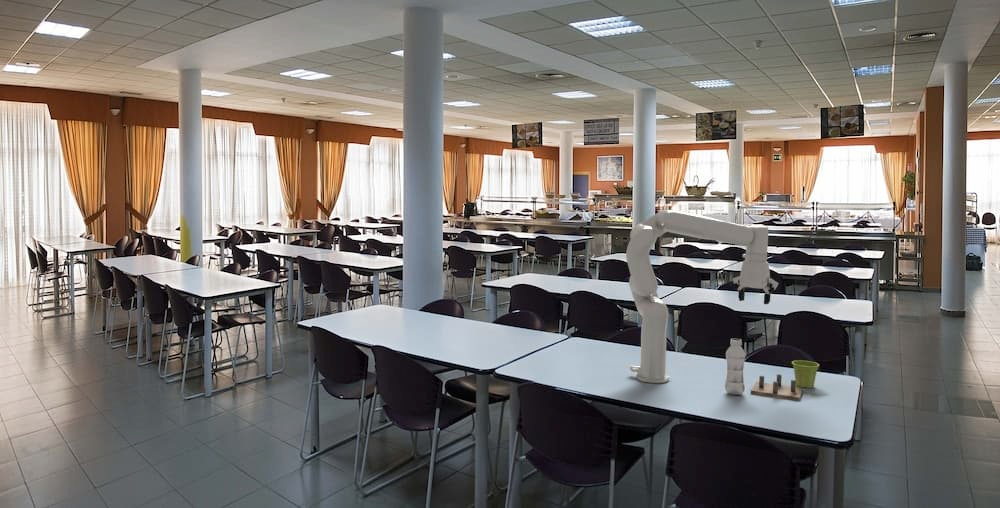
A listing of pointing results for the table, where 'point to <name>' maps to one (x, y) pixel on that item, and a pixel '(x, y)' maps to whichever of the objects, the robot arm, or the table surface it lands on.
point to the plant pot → (805, 373)
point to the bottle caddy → (777, 389)
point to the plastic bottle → (735, 368)
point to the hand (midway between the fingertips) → (753, 302)
